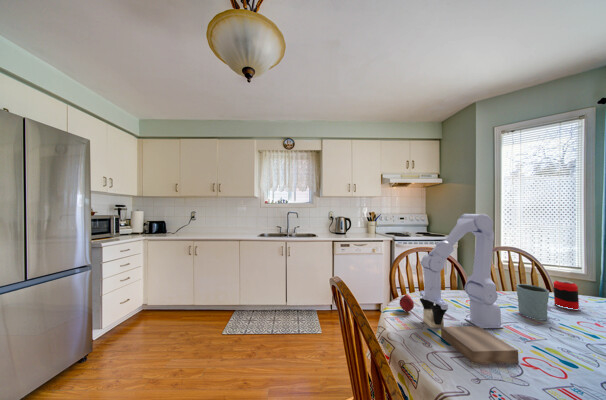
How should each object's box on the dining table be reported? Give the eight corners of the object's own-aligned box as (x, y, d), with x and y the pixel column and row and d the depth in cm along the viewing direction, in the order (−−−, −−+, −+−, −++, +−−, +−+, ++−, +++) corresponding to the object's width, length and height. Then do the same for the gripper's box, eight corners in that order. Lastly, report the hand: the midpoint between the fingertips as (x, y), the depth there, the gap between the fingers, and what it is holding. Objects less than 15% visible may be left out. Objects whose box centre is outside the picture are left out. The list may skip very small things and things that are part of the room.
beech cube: (435, 321, 91) (435, 308, 91) (443, 327, 86) (443, 314, 86) (423, 321, 91) (423, 308, 91) (431, 327, 86) (430, 314, 86)
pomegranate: (415, 315, 95) (415, 296, 96) (401, 314, 97) (401, 295, 97) (411, 310, 101) (411, 292, 102) (398, 308, 102) (398, 291, 103)
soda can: (558, 308, 105) (557, 282, 105) (551, 302, 111) (550, 278, 112) (582, 312, 101) (581, 285, 101) (574, 306, 107) (572, 280, 108)
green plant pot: (523, 309, 103) (522, 282, 104) (555, 318, 94) (553, 289, 95) (512, 313, 99) (511, 285, 100) (544, 323, 90) (543, 293, 91)
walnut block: (478, 337, 80) (478, 326, 80) (518, 364, 66) (518, 350, 66) (441, 338, 79) (441, 326, 79) (473, 365, 65) (473, 351, 65)
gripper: (412, 280, 96) (413, 312, 95) (434, 292, 82) (435, 330, 81) (428, 280, 96) (429, 312, 96) (452, 292, 82) (453, 330, 81)
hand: (433, 320), depth 88 cm, fingers closed on beech cube, 5 cm apart
